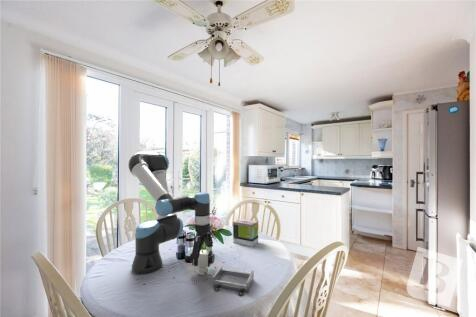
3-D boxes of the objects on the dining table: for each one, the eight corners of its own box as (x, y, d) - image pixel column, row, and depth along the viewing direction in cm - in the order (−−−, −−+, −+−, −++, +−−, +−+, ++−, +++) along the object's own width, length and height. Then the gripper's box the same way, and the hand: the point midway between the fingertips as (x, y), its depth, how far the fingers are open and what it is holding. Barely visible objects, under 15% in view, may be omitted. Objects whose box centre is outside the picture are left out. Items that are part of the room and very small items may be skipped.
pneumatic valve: (211, 277, 106) (211, 252, 106) (189, 274, 109) (189, 250, 109) (215, 271, 112) (215, 248, 112) (194, 269, 114) (193, 246, 114)
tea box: (258, 242, 150) (258, 221, 151) (251, 247, 142) (251, 224, 142) (240, 238, 158) (240, 218, 159) (232, 242, 150) (232, 221, 150)
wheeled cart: (210, 290, 95) (210, 280, 95) (221, 274, 108) (221, 265, 108) (246, 297, 91) (246, 286, 91) (253, 280, 103) (253, 270, 103)
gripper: (197, 231, 97) (198, 279, 97) (218, 217, 121) (219, 255, 121) (183, 230, 99) (183, 276, 99) (206, 216, 123) (206, 254, 123)
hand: (203, 265), depth 110 cm, fingers open, 13 cm apart
